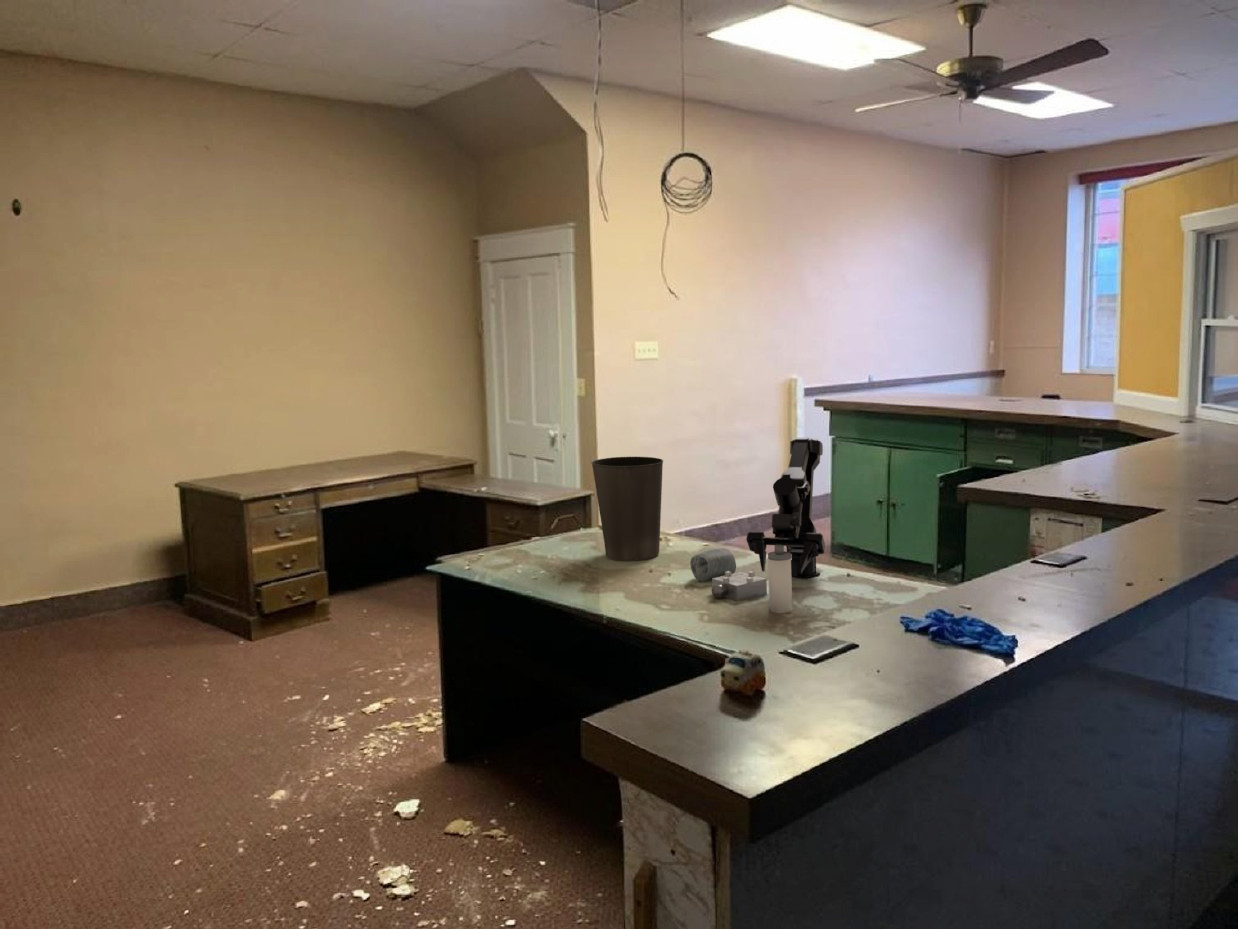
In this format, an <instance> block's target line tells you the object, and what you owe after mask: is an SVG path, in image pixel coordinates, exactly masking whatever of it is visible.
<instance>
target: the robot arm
mask: <svg viewBox="0 0 1238 929" xmlns="http://www.w3.org/2000/svg"><path fill="white" fill-rule="evenodd" d="M789 442H790V444H789V449H790V450H789V455H790V459H789V464H788V467H787V470H785V471H783V472H782V473H781V476H780V478H778V479H776V480H775V482H773V485H772V489H773V492H774V493H773V494H774V497H775V501H776V504H777V506H778V511H777V512H778V513H773V514H772V518H771V528H772V534H773V535H774V536H766V535H765V532H764V531H761V530H760V531H759V530H757V531H754V530H750V531H749V532H748V533H747V534H746V542H747V545H748V548H749V551H751V552H753V553H754V554H755V555H758V557H759V562H760V568H761V572H762V573H763V572H765V570H766V563H767V562H766V560H767V551H766V550H767V546H775V545H784V547H786V552H790V553H791V577H792V576H793V577H795V578H800V579H808V578H812V577H817V576H820V575H821V572H819V571H817V557H818V556H819V555H823V554H825V550H826V543H825V540H824V535H823V534H822V533H821V532H817V528H816V526H815V525H814V523H813V520H812V512H813V494H814V491H813V490H814V489H813V488H814V472H815V470H816V469H817V468H818V466H819V464H820V463H821V456H823V452H824V449H823V448H824V446H823V443H822V441H821V440H819V439H817V438H816V439H815V438H809V437H795V438H793V439H792V440H790V441H789Z"/></svg>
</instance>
